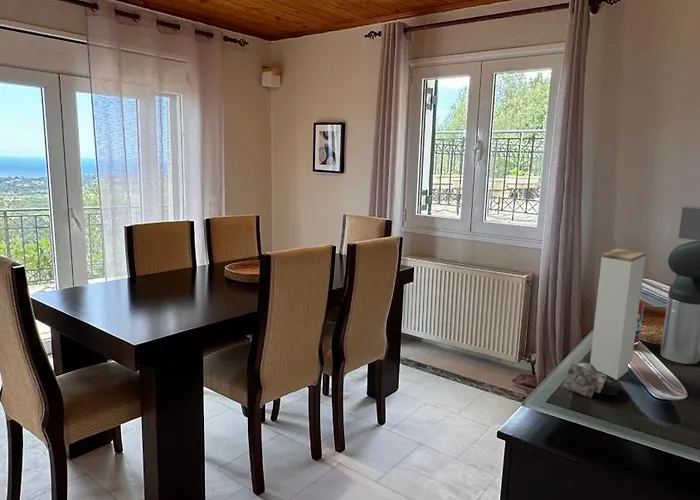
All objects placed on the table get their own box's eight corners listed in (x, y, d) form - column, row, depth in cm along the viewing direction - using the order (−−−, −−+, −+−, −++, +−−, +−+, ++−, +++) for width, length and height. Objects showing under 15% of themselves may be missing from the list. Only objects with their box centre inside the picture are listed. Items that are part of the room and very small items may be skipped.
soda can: (612, 336, 156) (617, 290, 153) (640, 342, 152) (646, 295, 148) (606, 344, 150) (612, 296, 147) (635, 350, 146) (642, 301, 142)
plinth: (630, 368, 135) (645, 252, 128) (616, 379, 128) (631, 258, 121) (603, 360, 140) (616, 248, 133) (589, 370, 133) (601, 254, 126)
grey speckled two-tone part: (615, 397, 125) (611, 409, 117) (569, 376, 131) (562, 387, 122) (625, 373, 124) (621, 383, 115) (578, 353, 129) (571, 362, 121)
